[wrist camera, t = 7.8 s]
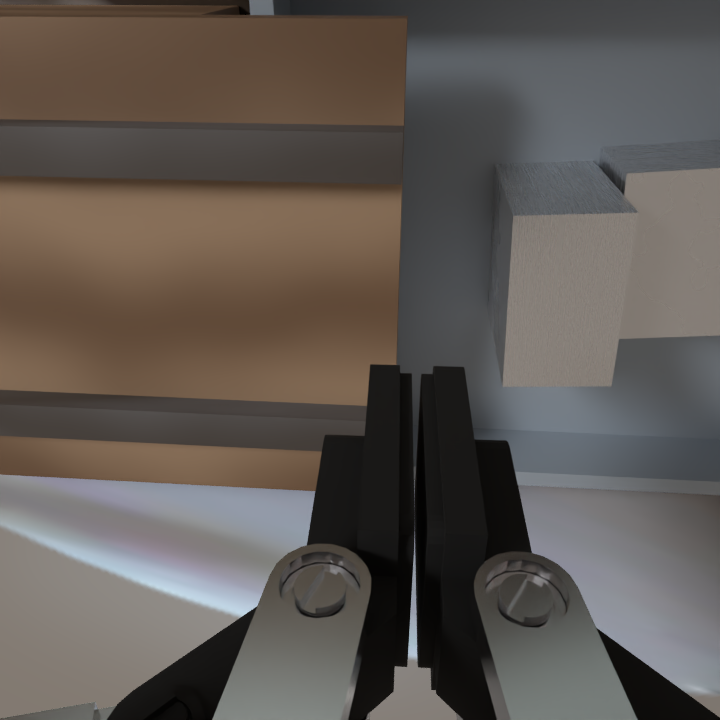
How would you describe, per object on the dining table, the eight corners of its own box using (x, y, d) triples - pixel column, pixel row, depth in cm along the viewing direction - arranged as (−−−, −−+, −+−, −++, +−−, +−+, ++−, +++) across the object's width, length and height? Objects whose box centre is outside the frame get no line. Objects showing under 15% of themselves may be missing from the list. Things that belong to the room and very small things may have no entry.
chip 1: (513, 216, 17) (639, 212, 16) (494, 164, 21) (593, 160, 21) (502, 386, 19) (611, 386, 19) (487, 309, 23) (576, 307, 23)
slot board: (-243, 3, 21) (-453, 16, 16) (410, 6, 19) (406, 21, 14) (-89, 387, 28) (-200, 479, 23) (396, 408, 26) (391, 512, 22)
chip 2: (828, 161, 17) (776, 135, 20) (626, 173, 18) (600, 146, 20) (783, 333, 20) (742, 290, 22) (607, 339, 20) (586, 296, 23)
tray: (270, -34, 19) (246, -34, 17) (940, -34, 18) (1026, -34, 15) (297, 424, 27) (283, 472, 25) (759, 446, 26) (796, 499, 23)
